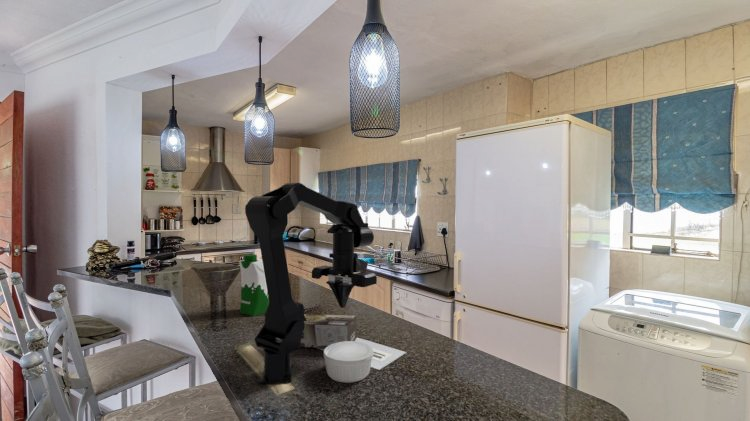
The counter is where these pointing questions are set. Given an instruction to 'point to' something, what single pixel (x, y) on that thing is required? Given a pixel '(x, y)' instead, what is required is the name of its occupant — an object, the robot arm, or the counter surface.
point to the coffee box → (328, 330)
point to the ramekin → (348, 361)
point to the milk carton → (253, 286)
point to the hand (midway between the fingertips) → (342, 307)
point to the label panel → (380, 354)
